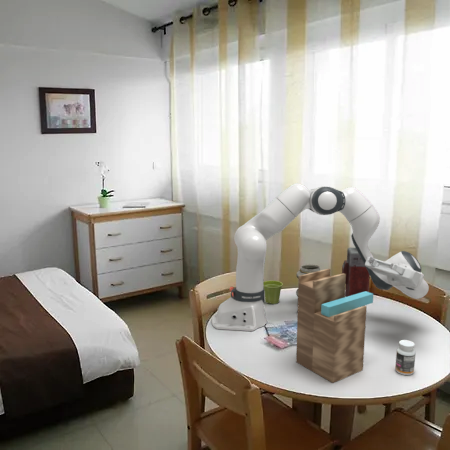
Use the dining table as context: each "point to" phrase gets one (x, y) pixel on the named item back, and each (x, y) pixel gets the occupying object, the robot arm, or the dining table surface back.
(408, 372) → the pill bottle
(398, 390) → the dining table surface
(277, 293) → the plant pot
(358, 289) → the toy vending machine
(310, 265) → the apothecary jar
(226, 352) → the dining table surface
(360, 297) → the bar
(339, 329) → the stepped wooden block
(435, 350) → the dining table surface
